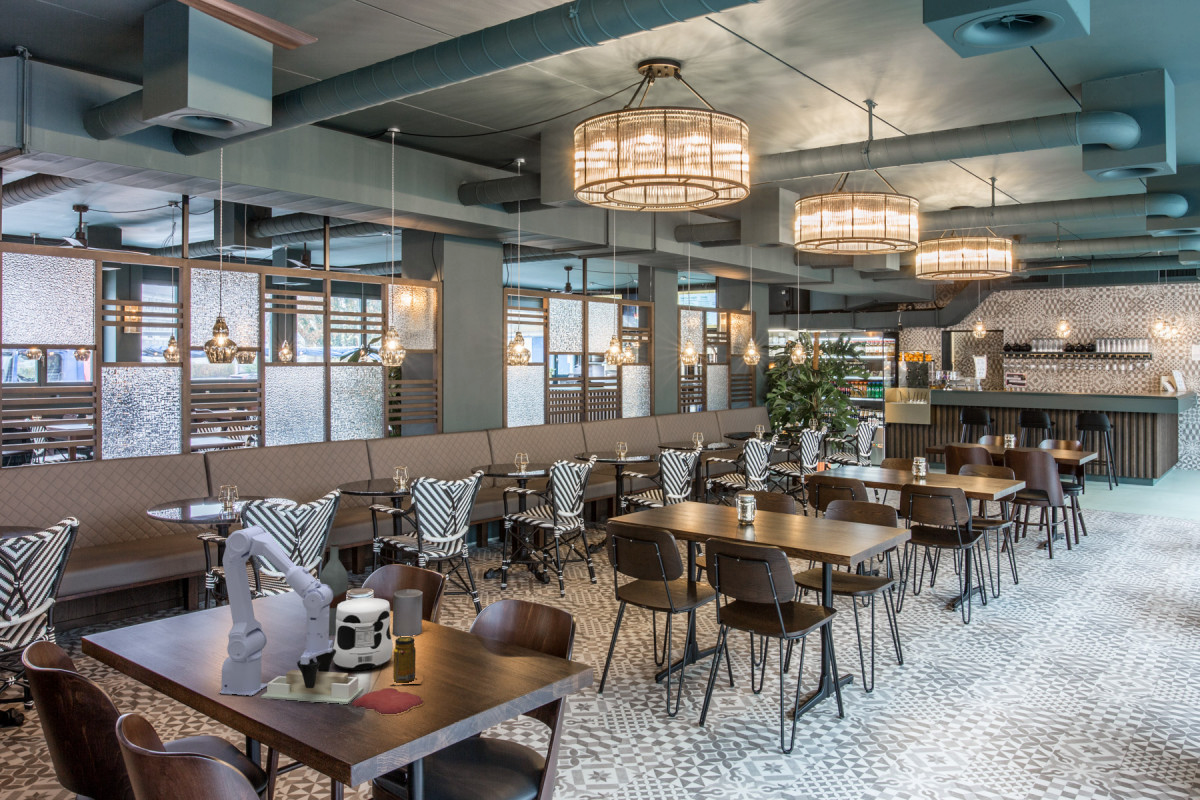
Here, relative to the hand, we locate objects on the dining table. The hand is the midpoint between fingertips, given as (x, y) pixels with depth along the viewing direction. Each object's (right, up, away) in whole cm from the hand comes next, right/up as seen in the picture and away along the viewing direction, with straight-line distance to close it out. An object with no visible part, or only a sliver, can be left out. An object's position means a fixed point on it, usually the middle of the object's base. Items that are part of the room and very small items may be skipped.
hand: (316, 682), depth 214 cm
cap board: (-1, -3, 0) cm, 4 cm away
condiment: (+22, -4, +12) cm, 25 cm away
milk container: (+5, -4, +25) cm, 25 cm away
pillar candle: (+11, -3, +56) cm, 57 cm away
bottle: (-14, -3, +56) cm, 58 cm away
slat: (0, -3, 0) cm, 3 cm away
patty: (+21, -5, -4) cm, 22 cm away
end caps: (-1, -3, 0) cm, 4 cm away
